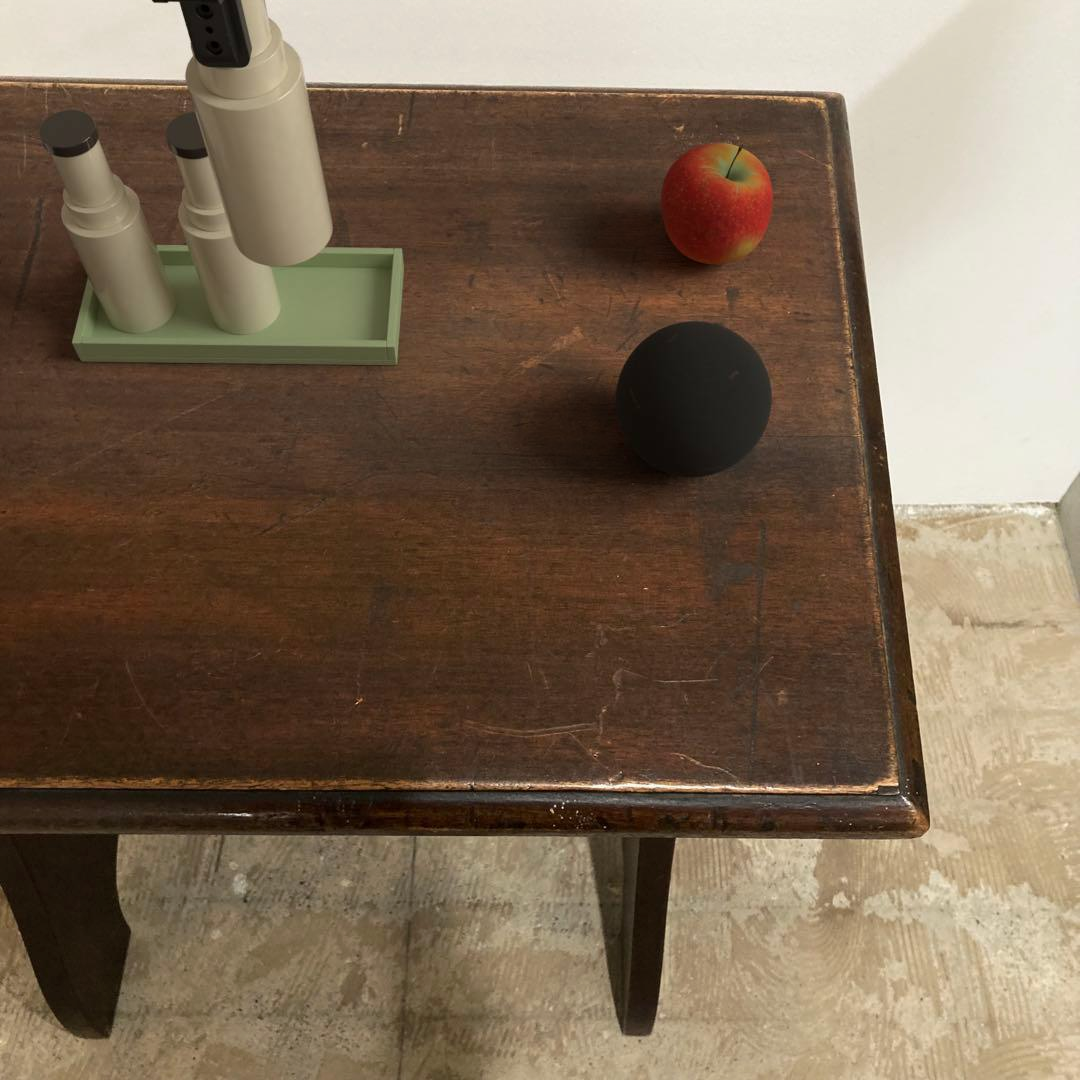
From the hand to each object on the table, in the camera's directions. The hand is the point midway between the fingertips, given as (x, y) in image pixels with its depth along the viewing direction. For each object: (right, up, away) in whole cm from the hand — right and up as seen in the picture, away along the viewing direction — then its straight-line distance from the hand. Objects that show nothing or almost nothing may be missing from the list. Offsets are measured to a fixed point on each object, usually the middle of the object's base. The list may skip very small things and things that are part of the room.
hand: (232, 29), depth 48 cm
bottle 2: (0, -6, +10) cm, 11 cm away
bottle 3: (-8, -5, +35) cm, 36 cm away
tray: (-8, -5, +36) cm, 37 cm away
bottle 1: (-16, -4, +35) cm, 39 cm away
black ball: (+23, -15, +31) cm, 41 cm away
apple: (+26, +1, +40) cm, 47 cm away
